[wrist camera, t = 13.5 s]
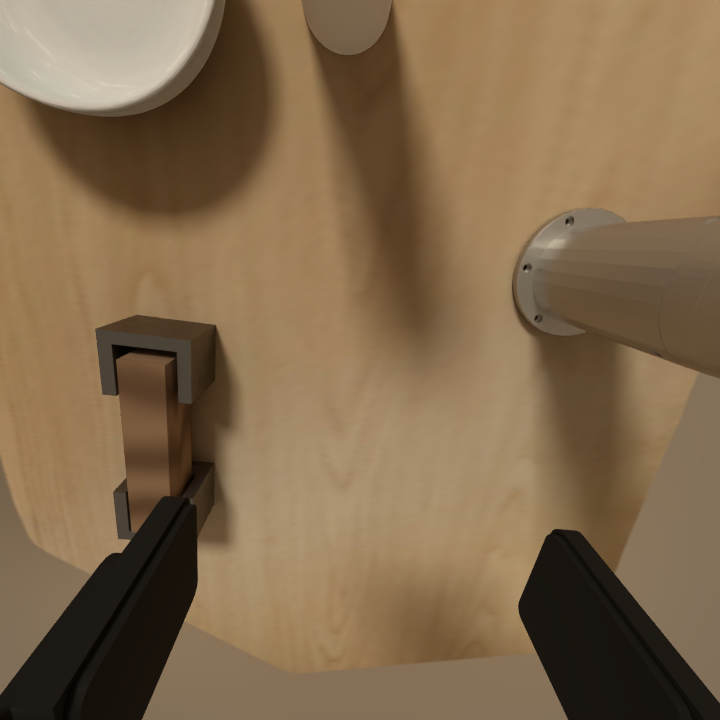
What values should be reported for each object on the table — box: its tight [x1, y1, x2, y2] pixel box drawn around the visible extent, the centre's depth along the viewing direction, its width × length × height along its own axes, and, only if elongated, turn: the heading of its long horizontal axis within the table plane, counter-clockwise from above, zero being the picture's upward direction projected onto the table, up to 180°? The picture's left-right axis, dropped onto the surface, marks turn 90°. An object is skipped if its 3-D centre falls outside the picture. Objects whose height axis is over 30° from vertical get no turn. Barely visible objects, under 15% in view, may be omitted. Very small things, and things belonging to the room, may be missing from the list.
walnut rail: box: [116, 348, 192, 532], centre depth 34 cm, size 19×4×5 cm, turn 172°
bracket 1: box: [95, 315, 216, 404], centre depth 33 cm, size 6×8×6 cm
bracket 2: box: [113, 461, 214, 540], centre depth 38 cm, size 6×8×6 cm
